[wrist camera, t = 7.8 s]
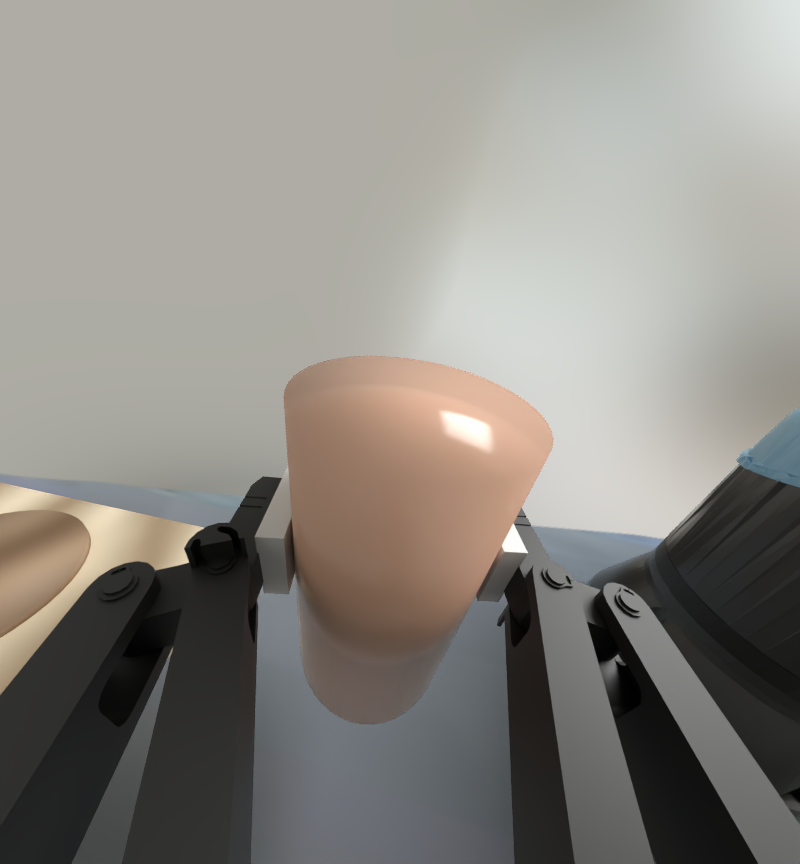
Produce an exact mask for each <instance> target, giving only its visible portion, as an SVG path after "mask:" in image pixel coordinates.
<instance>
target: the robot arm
mask: <svg viewBox="0 0 800 864" xmlns="http://www.w3.org/2000/svg"><path fill="white" fill-rule="evenodd" d="M737 462H739V464H738V466H737V467H735V468H734V469H733V471H731V473H730V474H729V475H727V477H726V478H724V480H723V481H722V482H721V483H720V484H719V485H718V486H717V487H716V488H715V489H714V490H713V491H712V492H711V493H710V494H709V495H708V496H707V497H706V498H705V499H704V500H703V501H702V502H701V503H700V504H699V505H698V506H697V507H696V508H695V509H694V510H693V511H692V512H691V513H690V514H689V515H688V516H687V517H686V518H685V519H684V520H683V521H682V522H681V523H680V524H679V525H678V526H677V527H676V528H675V529H674V530H673V531H672V532H671V533H670V534H669V535H668V536H667V537H666V538H665V539H664V540H663V541H662V542H661V543H660V545H658V546H657V547H656V548H655V549H654V550H653V551H650V552H648V553H645V554H642V555H640V556H637V557H635V558H632V559H630V560H627V561H625V562H622V563H619V564H617V565H614V566H612V567H609V568H607V569H604V570H602V571H601V572H599V573H598V574H596V575H595V576H594V577H593V578H592V579H591V580H590V581H589V583H588V584H587V585H585V584H582V583H579V582H577V581H575V580H574V579H573V577H572V576H571V575H570V574H569V573H568V571H567V570H565V569H564V568H563V567H562V566H560V565H559V564H557V563H555V562H553V561H551V560H550V558H549V557H548V555H547V553H546V551H545V549H544V548H543V546H542V544H541V542H540V540H539V538H538V537H537V535H536V533H535V531H534V529H533V528H532V527H531V524H530V522H529V520H528V519H527V518H526V515H525V513H524V511H523V510H522V508H521V510H520V511H519V513H518V515H517V517H516V519H515V521H514V523H513V525H512V527H511V529H510V531H509V533H508V534H507V536H506V538H505V540H504V542H503V544H502V546H501V548H500V550H499V552H498V554H497V556H496V558H495V559H494V561H493V563H492V565H491V567H490V569H489V571H488V573H487V575H486V577H485V579H484V581H483V582H482V584H481V586H480V588H479V590H478V592H477V594H476V596H477V600H478V601H494V602H498V601H499V600H500V598H501V597H502V595H503V593H505V596H506V599H507V601H508V605H507V606H506V608H505V609H504V611H503V613H502V614H501V616H500V617H499V619H498V623H497V626H501V625H502V623H503V622H504V620H505V640H506V664H507V688H508V712H509V736H510V760H511V785H512V809H513V833H514V857H515V864H655V863H654V860H653V856H652V853H653V855H654V857H655V860H656V862H657V864H800V408H798V409H796V410H795V411H793V412H792V413H790V414H789V415H787V416H786V417H785V418H784V419H783V420H782V421H781V422H780V423H779V424H778V425H777V426H775V427H774V428H773V429H772V430H771V431H770V432H769V433H768V434H767V435H766V436H765V437H764V438H762V439H761V440H760V441H759V442H758V443H757V444H756V445H755V446H754V447H753V448H750V449H747V450H745V451H743V452H742V453H741V454H740V455H739V456H738V458H737ZM184 550H185V553H186V555H187V558H188V561H189V563H186V564H182V565H178V566H173V567H169V568H164V569H159V570H155V569H154V567H153V566H151V565H150V564H149V563H147V562H140V561H135V562H129V563H124V564H122V565H119V566H117V567H114V568H112V569H110V570H108V571H107V572H105V573H104V574H102V575H101V576H99V577H98V578H97V579H96V580H95V581H93V582H92V583H91V584H90V585H89V586H88V587H87V589H86V590H85V591H84V592H83V593H82V595H81V596H80V597H79V598H78V600H77V601H76V602H75V603H74V605H73V606H72V607H71V608H70V609H69V611H68V612H67V613H66V614H65V616H64V617H63V618H62V619H61V621H60V622H59V623H58V624H57V626H56V627H55V628H54V629H53V630H52V632H51V633H50V634H49V635H48V637H47V638H46V639H45V640H44V642H43V643H42V644H41V645H40V646H39V648H38V649H37V650H36V651H35V653H34V654H33V655H32V656H31V658H30V659H29V660H28V661H27V663H26V664H25V665H24V666H23V667H22V669H21V670H20V671H19V672H18V674H17V675H16V676H15V677H14V679H13V680H12V681H11V682H10V683H9V685H8V686H7V687H6V688H5V690H4V691H3V692H2V693H1V695H0V864H71V863H72V861H73V859H74V857H75V855H76V852H77V850H78V848H79V846H80V844H81V842H82V840H83V838H84V835H85V833H86V831H87V829H88V827H89V825H90V823H91V820H92V818H93V816H94V814H95V812H96V810H97V808H98V806H99V803H100V801H101V799H102V797H103V795H104V793H105V791H106V788H107V786H108V784H109V782H110V780H111V778H112V776H113V774H114V771H115V769H116V767H117V765H118V763H119V761H120V759H121V757H122V754H123V752H124V750H125V748H126V746H127V744H128V742H129V739H130V737H131V735H132V733H133V731H134V729H135V727H136V725H137V722H138V720H139V718H140V716H141V714H142V712H143V710H144V708H145V705H146V703H147V701H148V699H149V697H150V695H151V693H152V690H153V688H154V686H155V684H156V682H157V680H158V678H159V676H160V673H161V671H162V669H163V667H164V665H165V663H166V661H167V658H168V656H169V654H170V652H171V650H172V648H173V650H172V654H171V658H170V662H169V667H168V671H167V675H166V679H165V684H164V688H163V692H162V696H161V701H160V705H159V709H158V713H157V717H156V722H155V726H154V730H153V734H152V739H151V743H150V747H149V751H148V756H147V760H146V764H145V768H144V773H143V777H142V781H141V785H140V790H139V794H138V798H137V802H136V807H135V811H134V815H133V819H132V824H131V828H130V832H129V836H128V841H127V845H126V849H125V853H124V857H123V862H122V864H251V830H252V797H253V763H254V729H255V696H256V662H257V628H258V604H257V598H258V595H259V593H260V590H261V587H262V585H263V590H264V593H274V594H289V591H290V588H291V584H292V581H293V577H294V574H295V560H294V545H293V530H292V515H291V500H290V485H289V470H288V467H287V469H286V471H285V473H284V475H283V478H274V477H262V478H261V479H259V480H258V481H257V482H255V483H254V484H253V485H252V486H251V487H250V489H249V491H248V493H247V494H246V496H245V498H244V499H243V501H242V503H241V504H240V507H239V508H238V509H237V511H236V513H235V514H234V516H233V518H232V519H231V521H230V523H217V524H214V525H210V526H207V527H205V528H204V529H202V530H200V531H198V532H197V533H196V534H195V535H193V536H192V537H191V538H190V539H189V540H188V542H187V544H186V546H185V548H184ZM649 845H650V846H649ZM650 848H651V849H650ZM651 850H652V853H651Z"/></svg>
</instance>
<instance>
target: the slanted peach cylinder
mask: <svg viewBox="0 0 800 864" xmlns="http://www.w3.org/2000/svg"><path fill="white" fill-rule="evenodd" d="M284 408H285V423H286V439H287V454H288V470H289V485H290V500H291V515H292V530H293V545H294V560H295V575H296V590H297V605H298V620H299V635H300V651H301V660H302V666H303V669H304V673H305V676H306V679H307V681H308V684H309V686H310V688H311V689H312V691H313V693H314V694H315V696H316V697H317V698H318V700H319V701H320V702H321V703H322V704H323V705H324V706H325V707H326V708H327V709H328V710H329V711H331V712H332V713H334V714H335V715H337V716H338V717H340V718H342V719H345V720H347V721H350V722H354V723H359V724H378V723H384V722H387V721H389V720H392V719H395V718H397V717H398V716H400V715H402V714H404V713H405V712H406V711H408V710H409V709H410V708H411V707H413V706H414V705H415V704H416V702H417V701H418V700H419V699H420V698H421V697H422V695H423V694H424V692H425V691H426V690H427V688H428V686H429V684H430V682H431V680H432V678H433V676H434V675H435V673H436V671H437V669H438V667H439V665H440V663H441V661H442V659H443V657H444V655H445V653H446V652H447V650H448V648H449V646H450V644H451V642H452V640H453V638H454V636H455V634H456V632H457V630H458V629H459V627H460V625H461V623H462V621H463V619H464V617H465V615H466V613H467V611H468V609H469V607H470V605H471V604H472V602H473V600H474V598H475V596H476V594H477V592H478V590H479V588H480V586H481V584H482V582H483V581H484V579H485V577H486V575H487V573H488V571H489V569H490V567H491V565H492V563H493V561H494V559H495V558H496V556H497V554H498V552H499V550H500V548H501V546H502V544H503V542H504V540H505V538H506V536H507V534H508V533H509V531H510V529H511V527H512V525H513V523H514V521H515V519H516V517H517V515H518V513H519V511H520V510H521V508H522V506H523V504H524V502H525V500H526V498H527V496H528V494H529V492H530V490H531V488H532V487H533V484H534V482H535V481H536V479H537V477H538V475H539V473H540V471H541V469H542V467H543V465H544V463H545V462H546V460H547V458H548V456H549V454H550V452H551V450H552V446H553V436H552V431H551V429H550V428H549V425H548V423H547V422H546V420H545V419H544V418H543V417H542V415H541V414H540V413H539V412H538V411H537V410H536V409H535V408H534V407H533V406H531V405H530V404H529V403H528V402H526V401H525V400H524V399H522V398H521V397H519V396H518V395H516V394H514V393H513V392H511V391H509V390H508V389H505V388H504V387H502V386H500V385H498V384H496V383H494V382H491V381H489V380H487V379H484V378H482V377H479V376H476V375H474V374H471V373H468V372H465V371H462V370H459V369H456V368H452V367H448V366H444V365H441V364H436V363H431V362H426V361H421V360H414V359H408V358H399V357H385V356H358V357H346V358H339V359H333V360H328V361H324V362H321V363H317V364H315V365H312V366H310V367H307V368H306V369H304V370H302V371H300V372H299V373H297V374H296V375H295V376H293V378H292V379H291V380H290V381H289V382H288V384H287V386H286V388H285V392H284Z"/></svg>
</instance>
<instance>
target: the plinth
mask: <svg viewBox="0 0 800 864" xmlns="http://www.w3.org/2000/svg"><path fill="white" fill-rule="evenodd" d="M202 529H204V528H203V527H198V526H194V525H189V524H185V523H180V522H176V521H171V520H167V519H162V518H158V517H153V516H149V515H144V514H140V513H135V512H131V511H126V510H122V509H117V508H113V507H108V506H104V505H99V504H95V503H90V502H85V501H81V500H76V499H72V498H67V497H63V496H58V495H54V494H49V493H45V492H40V491H36V490H31V489H27V488H22V487H18V486H13V485H9V484H4V483H0V695H1V693H2V692H3V691H4V690H5V688H6V687H7V686H8V685H9V683H10V682H11V681H12V680H13V679H14V677H15V676H16V675H17V674H18V672H19V671H20V670H21V669H22V667H23V666H24V665H25V664H26V663H27V661H28V660H29V659H30V658H31V656H32V655H33V654H34V653H35V651H36V650H37V649H38V648H39V646H40V645H41V644H42V643H43V642H44V640H45V639H46V638H47V637H48V635H49V634H50V633H51V632H52V630H53V629H54V628H55V627H56V626H57V624H58V623H59V622H60V621H61V619H62V618H63V617H64V616H65V614H66V613H67V612H68V611H69V609H70V608H71V607H72V606H73V605H74V603H75V602H76V601H77V600H78V598H79V597H80V596H81V595H82V593H83V592H84V591H85V590H86V589H87V587H88V586H89V585H90V584H91V583H92V582H93V581H95V580H96V579H97V578H98V577H99V576H101V575H102V574H104V573H105V572H107V571H108V570H110V569H112V568H114V567H117V566H119V565H122V564H124V563H129V562H135V561H140V562H147V563H149V564H150V565H151V566H153V567H154V569H155V570H159V569H164V568H169V567H173V566H178V565H182V564H186V563H189V561H188V558H187V555H186V553H185V550H184V548H185V546H186V544H187V542H188V540H189V539H190V538H191V537H192V536H193V535H195V534H196V533H197V532H198V531H200V530H202ZM172 650H173V648H172ZM172 650H171V652H170V654H169V656H168V658H169V657H170V655H171V654H172ZM168 658H167V659H168Z"/></svg>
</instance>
